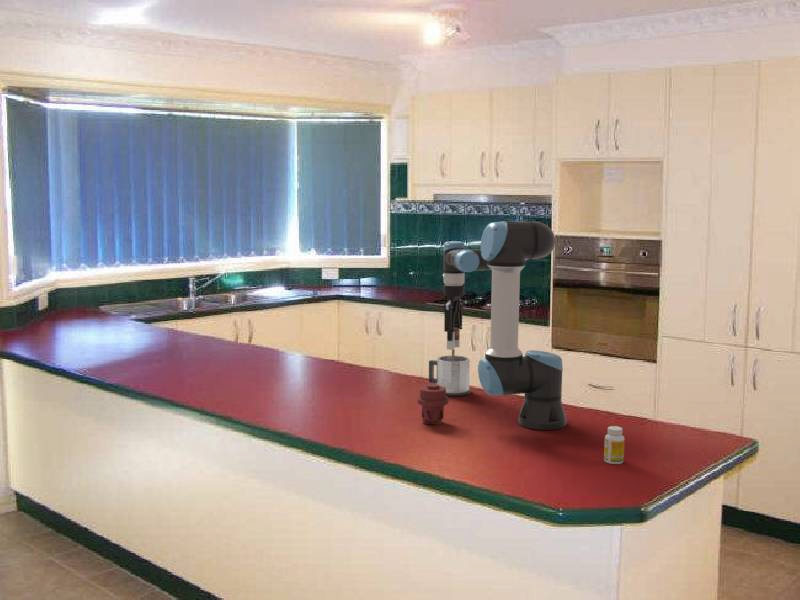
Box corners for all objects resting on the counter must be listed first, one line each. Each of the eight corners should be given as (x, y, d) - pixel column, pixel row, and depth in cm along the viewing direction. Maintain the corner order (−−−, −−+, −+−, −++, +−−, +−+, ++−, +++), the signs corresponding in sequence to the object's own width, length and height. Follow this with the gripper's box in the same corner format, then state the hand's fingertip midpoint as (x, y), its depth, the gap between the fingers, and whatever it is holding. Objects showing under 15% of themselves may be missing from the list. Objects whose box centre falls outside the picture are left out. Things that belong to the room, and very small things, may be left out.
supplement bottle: (600, 461, 248) (601, 428, 247) (610, 457, 252) (611, 424, 251) (617, 465, 245) (618, 431, 243) (627, 461, 248) (628, 427, 247)
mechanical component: (452, 425, 283) (422, 428, 281) (442, 417, 293) (413, 419, 290) (452, 387, 282) (422, 389, 279) (443, 380, 291) (413, 382, 289)
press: (475, 390, 330) (475, 356, 328) (463, 398, 318) (463, 363, 316) (436, 386, 336) (436, 353, 335) (422, 393, 325) (423, 359, 323)
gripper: (452, 281, 331) (452, 343, 334) (435, 286, 315) (434, 351, 318) (471, 282, 327) (471, 344, 331) (454, 287, 312) (454, 353, 315)
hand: (453, 348), depth 324 cm, fingers closed on plunger, 4 cm apart
